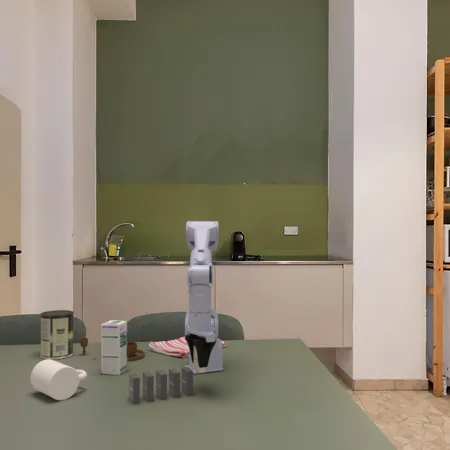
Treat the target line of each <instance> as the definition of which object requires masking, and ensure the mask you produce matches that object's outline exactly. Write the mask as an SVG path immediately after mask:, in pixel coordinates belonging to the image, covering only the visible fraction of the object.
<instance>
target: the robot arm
mask: <svg viewBox="0 0 450 450" xmlns="http://www.w3.org/2000/svg"><path fill="white" fill-rule="evenodd" d="M219 223H220V222H218V221H217V220H214V221H203V220H202V221H201V220H199V221H198V220H197V221H195V220H193V221H191V220H188V221H186V224H185V239H186V246H187V249H188V250H189V251H191V252H190V257H189V258H190V259H189V260H190V261H189V266H188V267H187V269H186V270H187V273H186V275H187V276H186V280H187V289H188V290H187V292H188V293H187V294H189V295H188V310H187V311H186V313H185V319H184V336H183V337H185V339H186V341H187V344H188V346H189V357H188V360H189V362H188V363H189V364H187V365H184V367H188V368H190V369H191V370H192V371H193V375H196V374H199V373H198V372H197V371H196V370H194V346H195V347H196V351H197V358H198V365H199V367H200V368H203V367H205V372H204V373H211V372H217V371H219V372H220V371H224V367H223V358H224V357H223V350H224V347H223V348H222V343H221V341H222V340H221V339H220V338H219V337H218V336H219V313H218V311H217V310H216V309H215V308H214V307H212V286H214V285H213V284H214V267H213V263H212V259H213V257H212V252H214V251H216V250H218V246H219V239H220V238H219V237H220V236H219V235H220V234H219V231H220V230H219V228H220V227H219V226H220V225H219ZM210 284H211V285H210Z"/></svg>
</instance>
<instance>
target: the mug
mask: <svg viewBox="0 0 450 450" xmlns="http://www.w3.org/2000/svg"><path fill="white" fill-rule="evenodd" d="M87 373H88V372H86V371H85V370H83V369H75V368H74V367H72V366H70V365H66V364H64V363H62V362H60V361H56V360H51V359H43V360H41V361H40V362H38V363H37V364H36V365H35V366H34V367H33V368H32V370H31V373H30V383H31V384H30V385H31V386H32V388H33V389H35V390H36V391H38V392H40V393H42V394H44V395H46V396H48V397H50V398H52V399H54V400H56V401H65V400H68V399H69V398H71V397H72V396H73V395H74V394H75V393H76V391H77V389H78V388H79V385H80V382H81V381H83V380H85V379H86V378H87V377H88V374H87Z"/></svg>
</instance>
